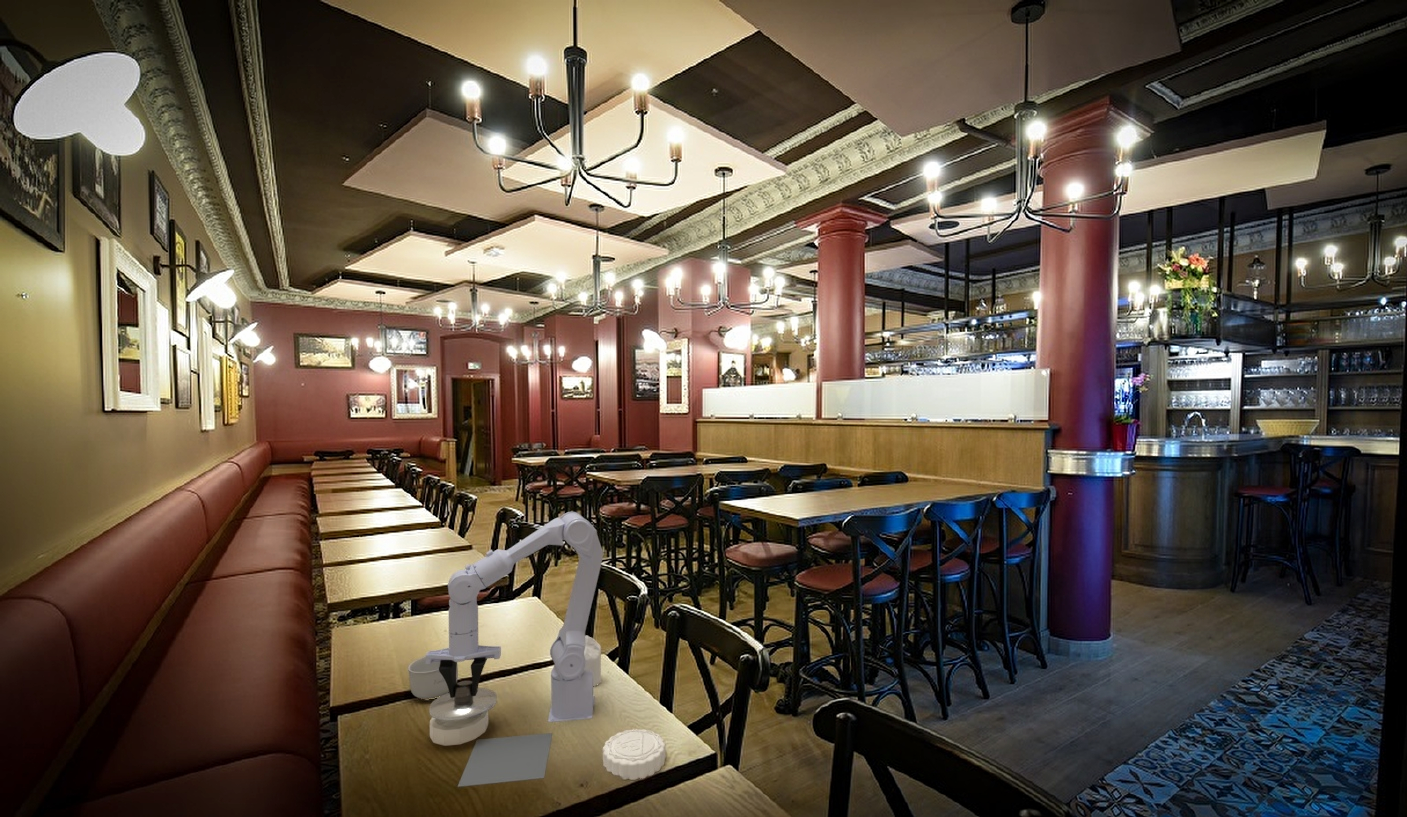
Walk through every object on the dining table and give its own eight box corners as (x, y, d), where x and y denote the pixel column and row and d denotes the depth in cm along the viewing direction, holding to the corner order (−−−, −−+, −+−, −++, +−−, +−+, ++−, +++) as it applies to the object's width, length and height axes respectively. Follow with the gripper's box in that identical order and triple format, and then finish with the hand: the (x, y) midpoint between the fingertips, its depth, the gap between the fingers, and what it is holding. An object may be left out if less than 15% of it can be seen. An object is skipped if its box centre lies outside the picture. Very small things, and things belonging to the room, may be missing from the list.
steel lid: (499, 688, 129) (499, 668, 129) (493, 715, 117) (493, 693, 117) (436, 695, 126) (436, 675, 126) (422, 724, 113) (423, 702, 114)
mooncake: (605, 745, 118) (605, 727, 118) (664, 742, 119) (664, 724, 119) (599, 783, 106) (599, 763, 106) (666, 779, 107) (665, 759, 107)
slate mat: (552, 735, 121) (552, 733, 121) (543, 780, 107) (543, 778, 107) (477, 742, 119) (477, 739, 119) (457, 789, 104) (457, 786, 104)
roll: (602, 630, 147) (598, 638, 142) (603, 677, 147) (599, 688, 142) (578, 630, 147) (574, 639, 142) (579, 677, 147) (574, 688, 142)
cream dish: (492, 716, 129) (492, 700, 129) (481, 744, 118) (480, 727, 118) (439, 720, 127) (439, 704, 127) (423, 749, 117) (423, 732, 117)
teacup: (439, 707, 133) (438, 672, 133) (397, 703, 135) (397, 668, 135) (474, 679, 147) (474, 648, 147) (436, 676, 149) (436, 645, 149)
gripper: (420, 639, 117) (420, 707, 117) (496, 634, 119) (496, 701, 119) (431, 626, 124) (431, 690, 124) (502, 622, 126) (502, 685, 126)
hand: (464, 694), depth 122 cm, fingers closed on steel lid, 4 cm apart
